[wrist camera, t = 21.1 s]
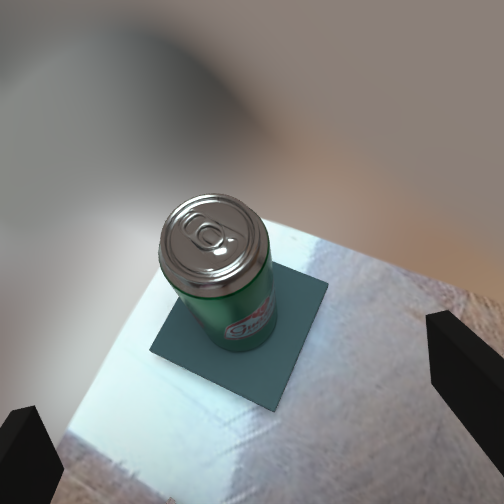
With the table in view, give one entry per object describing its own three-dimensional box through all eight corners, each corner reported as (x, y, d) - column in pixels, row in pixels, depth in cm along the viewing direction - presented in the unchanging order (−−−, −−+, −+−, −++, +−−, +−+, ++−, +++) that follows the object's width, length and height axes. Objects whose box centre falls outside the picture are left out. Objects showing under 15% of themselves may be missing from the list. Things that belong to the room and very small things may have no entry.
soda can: (244, 370, 28) (213, 315, 17) (188, 322, 29) (127, 245, 19) (293, 310, 29) (292, 225, 18) (236, 268, 31) (205, 167, 20)
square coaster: (325, 297, 32) (328, 283, 30) (276, 415, 29) (274, 411, 26) (218, 253, 35) (211, 237, 32) (161, 359, 31) (148, 349, 29)
